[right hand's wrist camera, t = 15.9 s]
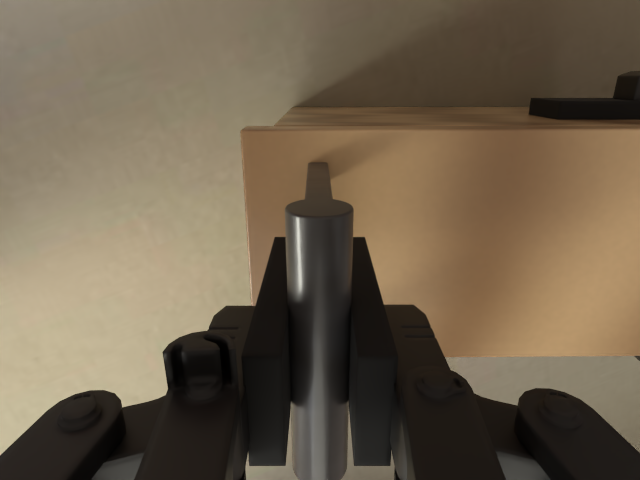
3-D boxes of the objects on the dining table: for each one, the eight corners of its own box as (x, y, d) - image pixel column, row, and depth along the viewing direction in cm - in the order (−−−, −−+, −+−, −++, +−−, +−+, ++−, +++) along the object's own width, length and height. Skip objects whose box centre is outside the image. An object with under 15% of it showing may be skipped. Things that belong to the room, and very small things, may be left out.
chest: (295, 250, 29) (281, 338, 19) (291, 107, 26) (273, 125, 16) (528, 250, 29) (635, 339, 19) (554, 106, 26) (697, 124, 16)
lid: (258, 342, 19) (220, 515, 12) (245, 126, 16) (181, 170, 8) (635, 339, 19) (842, 510, 12) (698, 124, 16) (1040, 167, 8)
